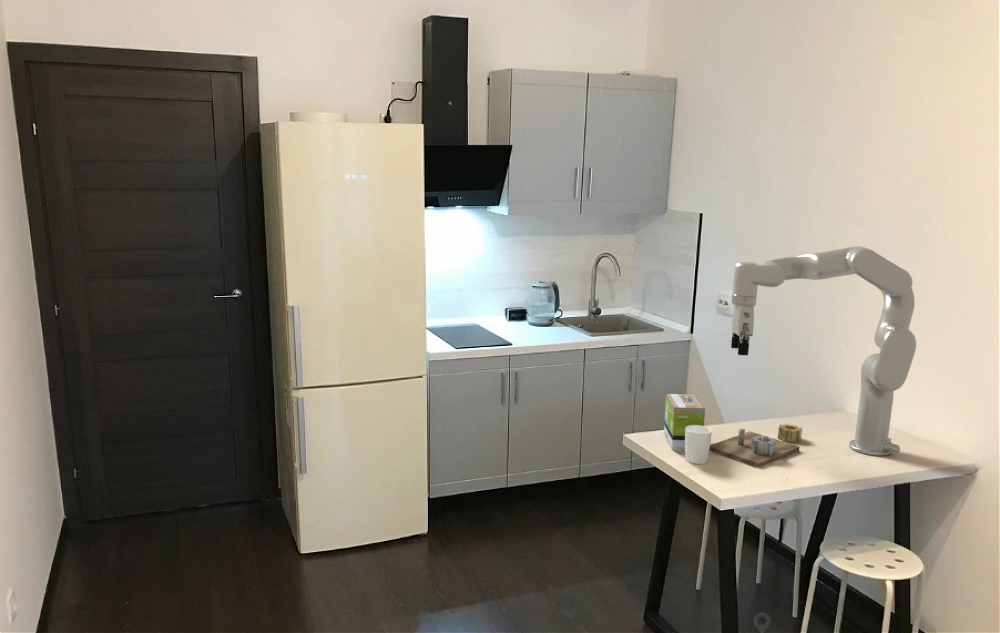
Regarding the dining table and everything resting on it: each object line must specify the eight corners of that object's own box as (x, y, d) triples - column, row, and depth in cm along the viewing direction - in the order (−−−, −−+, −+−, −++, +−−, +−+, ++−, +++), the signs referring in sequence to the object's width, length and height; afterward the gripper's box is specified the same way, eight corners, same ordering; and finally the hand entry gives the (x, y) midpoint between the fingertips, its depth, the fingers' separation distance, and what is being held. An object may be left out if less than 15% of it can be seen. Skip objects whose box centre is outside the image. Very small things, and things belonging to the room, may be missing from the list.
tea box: (662, 434, 254) (665, 392, 251) (692, 435, 254) (695, 393, 251) (671, 450, 239) (674, 406, 236) (703, 452, 239) (706, 407, 236)
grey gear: (777, 450, 238) (778, 438, 237) (773, 457, 231) (774, 445, 230) (752, 445, 241) (754, 433, 240) (748, 452, 235) (749, 440, 234)
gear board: (799, 451, 242) (801, 431, 241) (757, 467, 227) (759, 447, 226) (749, 435, 255) (751, 417, 254) (707, 450, 240) (708, 430, 239)
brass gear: (805, 440, 252) (806, 428, 252) (793, 444, 248) (794, 432, 247) (784, 433, 258) (786, 422, 257) (773, 438, 253) (774, 426, 253)
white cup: (695, 466, 227) (697, 434, 225) (677, 457, 233) (679, 426, 232) (714, 462, 230) (717, 431, 228) (697, 454, 237) (699, 423, 235)
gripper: (762, 305, 236) (757, 358, 239) (749, 296, 253) (744, 346, 256) (738, 304, 236) (733, 357, 239) (726, 295, 253) (722, 345, 256)
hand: (739, 351), depth 248 cm, fingers open, 9 cm apart
